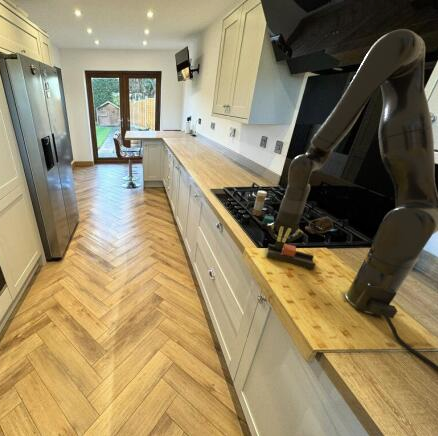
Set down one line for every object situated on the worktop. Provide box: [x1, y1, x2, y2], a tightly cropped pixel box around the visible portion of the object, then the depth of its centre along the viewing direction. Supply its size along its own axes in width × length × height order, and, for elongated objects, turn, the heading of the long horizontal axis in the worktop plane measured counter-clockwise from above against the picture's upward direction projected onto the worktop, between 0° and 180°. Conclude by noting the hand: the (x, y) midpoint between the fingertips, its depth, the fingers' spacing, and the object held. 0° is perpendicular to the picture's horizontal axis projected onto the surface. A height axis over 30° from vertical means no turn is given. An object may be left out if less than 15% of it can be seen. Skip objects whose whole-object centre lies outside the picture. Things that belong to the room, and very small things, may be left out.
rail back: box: [260, 218, 296, 236], centre depth 115 cm, size 7×16×3 cm, turn 62°
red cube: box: [282, 243, 297, 257], centre depth 92 cm, size 4×4×4 cm
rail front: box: [265, 243, 316, 271], centre depth 93 cm, size 7×16×3 cm, turn 62°
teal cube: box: [262, 215, 275, 224], centre depth 117 cm, size 4×4×4 cm
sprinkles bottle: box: [252, 190, 268, 217], centre depth 129 cm, size 5×5×13 cm
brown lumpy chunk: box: [304, 216, 335, 235], centre depth 115 cm, size 7×13×10 cm
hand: (278, 248), depth 94 cm, fingers closed
